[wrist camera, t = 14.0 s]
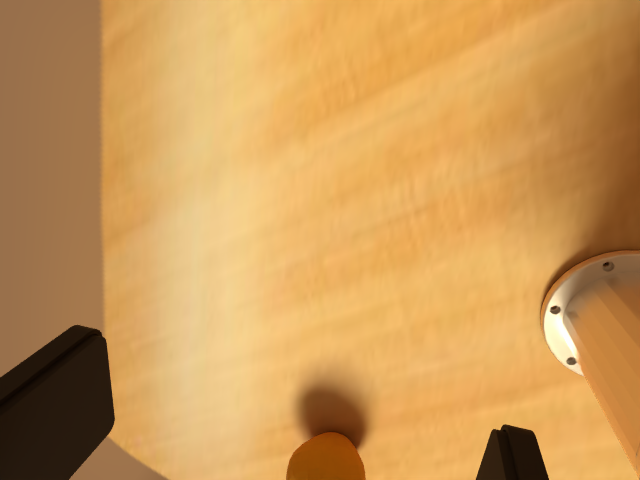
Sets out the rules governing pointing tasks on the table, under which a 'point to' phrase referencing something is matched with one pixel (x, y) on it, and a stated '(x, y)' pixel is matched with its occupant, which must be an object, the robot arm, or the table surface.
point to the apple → (326, 459)
